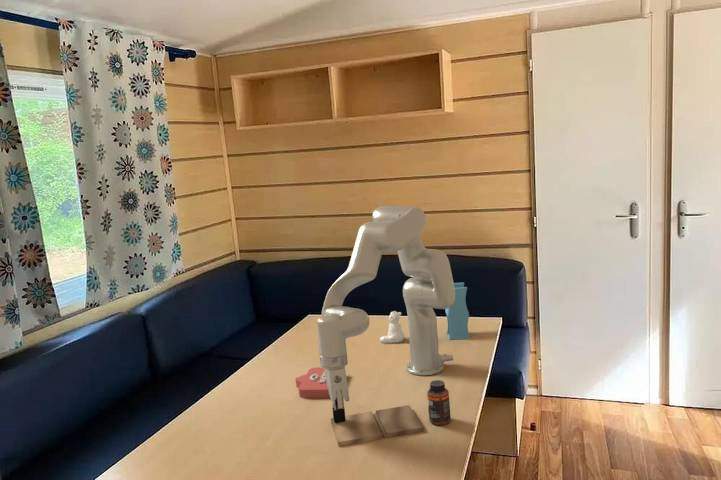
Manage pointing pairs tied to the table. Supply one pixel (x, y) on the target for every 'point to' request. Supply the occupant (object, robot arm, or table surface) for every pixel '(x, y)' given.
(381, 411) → the brown wooden board
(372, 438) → the plank
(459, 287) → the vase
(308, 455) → the table surface
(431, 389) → the supplement bottle
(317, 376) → the plaque
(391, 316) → the white creature statuette
